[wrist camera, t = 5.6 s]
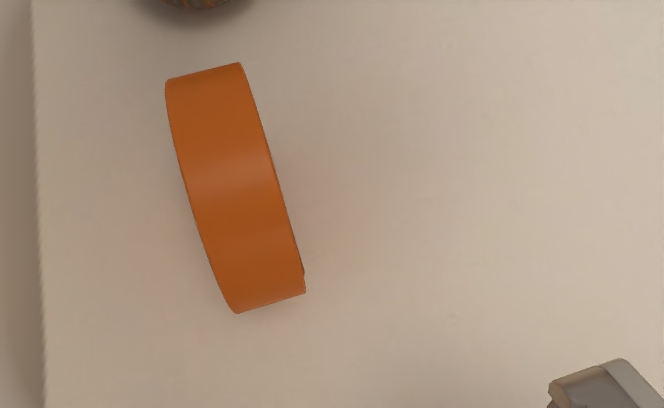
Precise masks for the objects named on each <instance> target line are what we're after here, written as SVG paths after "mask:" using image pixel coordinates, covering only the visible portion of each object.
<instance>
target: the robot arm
mask: <svg viewBox="0 0 664 408" xmlns="http://www.w3.org/2000/svg"><path fill="white" fill-rule="evenodd" d="M548 393H549V395H550V396H551V397H552V401H551V402H550V403H549V404H548V406H547V408H664V399H663V398H662V397H661V396H660V395H659V394H658V393H657V392H656V390H655V389H654V388H653V387H652V386H651V385H650V384H649V383H648V382H647V381H646V380H645V379H644V378H643V377H642V376H641V375H640V374H639V373H638V371H637V370H636V369H635V368H634V367H633V366H632V365H631V364H630V363H629V362H628V361H626V360H624V359H614V360H611V361H608V362H606V363H603V364H600V365H597V366H592V367H590V368H587V369H584V370H581V371H578V372H576V373H573V374H570V375H567V376H564V377H562V378H559V379H556V380H553V381H552V382H551V383H550V384H549V389H548Z"/></svg>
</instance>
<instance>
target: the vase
mask: <svg viewBox="0 0 664 408" xmlns="http://www.w3.org/2000/svg"><path fill="white" fill-rule="evenodd" d="M161 1H163V2H165V3H167V4H170V5H173V6H176V7H181V8H188V9H202V8H209V7H214V6H217V5H220V4H223V3H225V2H227V1H229V0H161Z"/></svg>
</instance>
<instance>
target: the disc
mask: <svg viewBox="0 0 664 408" xmlns="http://www.w3.org/2000/svg"><path fill="white" fill-rule="evenodd" d="M165 99H166V107H167V113H168V119H169V124H170V129H171V133H172V138H173V142H174V146H175V150H176V154H177V158H178V162H179V166H180V170H181V174H182V177H183V181H184V184H185V188H186V191H187V195H188V198H189V202H190V205H191V208H192V212H193V215H194V218H195V221H196V224H197V227H198V230H199V234H200V237H201V240H202V242H203V245H204V248H205V251H206V254H207V257H208V259H209V262H210V265H211V268H212V270H213V273H214V275H215V278H216V280H217V283H218V285H219V287H220V290H221V292H222V294H223V296H224V298H225V300H226V302H227V304H228V306H229V307H230V309H231V310H232V311H233V312H234V313H235V314H239V313H242V312H246V311H249V310H252V309H255V308H258V307H262V306H265V305H268V304H271V303H275V302H278V301H281V300H284V299H288V298H291V297H294V296H297V295H301V294H304V293H305V292H306V287H305V281H304V268H303V265H302V262H301V258H300V255H299V252H298V248H297V245H296V241H295V238H294V235H293V231H292V228H291V225H290V221H289V217H288V214H287V210H286V206H285V203H284V199H283V196H282V192H281V189H280V185H279V182H278V178H277V174H276V171H275V168H274V164H273V161H272V157H271V154H270V150H269V147H268V144H267V140H266V137H265V134H264V130H263V127H262V124H261V120H260V117H259V114H258V111H257V108H256V104H255V101H254V98H253V95H252V92H251V89H250V86H249V83H248V80H247V77H246V74H245V72H244V69H243V67H242V65H241V64H240V62H236V63H232V64H228V65H224V66H220V67H216V68H212V69H208V70H204V71H200V72H196V73H192V74H188V75H184V76H180V77H176V78H172V79H168V80H167V81H166V83H165Z"/></svg>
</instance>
